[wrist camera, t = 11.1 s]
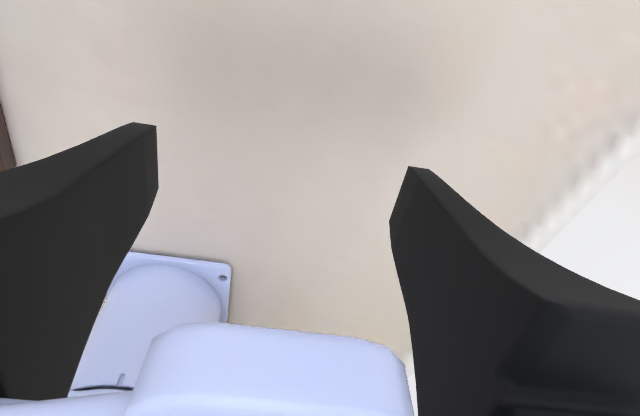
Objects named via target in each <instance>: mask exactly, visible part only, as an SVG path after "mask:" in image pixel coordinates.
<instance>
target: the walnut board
mask: <svg viewBox="0 0 640 416" xmlns="http://www.w3.org/2000/svg"><path fill="white" fill-rule="evenodd" d="M15 167H16V164H15V160H14V156H13V152H12V149H11V145H10V141H9V137H8V133H7V129H6V125H5V121H4V117H3V113H2V109H1V106H0V172H1V171H5V170H8V169H12V168H15Z"/></svg>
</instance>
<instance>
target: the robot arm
mask: <svg viewBox="0 0 640 416" xmlns="http://www.w3.org/2000/svg"><path fill="white" fill-rule="evenodd" d="M157 191H158V160H157V133H156V126H154V125H148V124H141V123H135V122H132V123H129V124H126V125H124V126H121V127H119V128H116V129H114V130H112V131H110V132H107V133H105V134H103V135H101V136H98V137H96V138H94V139H91V140H89V141H87V142H85V143H82V144H80V145H78V146H75V147H73V148H70V149H67V150H65V151H62V152H60V153H57V154H54V155H52V156H49V157H47V158H44V159H41V160H38V161H35V162H32V163H29V164H26V165H22V166H19V167H15V168H12V169H8V170H5V171H1V172H0V416H414V411H413V406H412V401H411V396H410V391H409V386H408V381H407V376H406V371H405V365H404V363H403V362H402V361H401V360H400V359H399V358H398V357H397V356H396V355H395V354H394V353H393V352H392V351H391V350H390V349H389V348H388V347H386V346H384V345H381V344H377V343H374V342H371V341H367V340H364V339H361V338H357V337H349V336H340V335H331V334H322V333H312V332H303V331H294V330H285V329H276V328H266V327H257V326H248V325H239V324H229V323H227V316H228V306H229V295H230V284H231V273H232V268H231V267H230V265H228V264H225V263H218V262H210V261H202V260H194V259H186V258H178V257H170V256H162V255H154V254H146V253H138V252H130V251H129V250H130V248H131V246H132V245H133V243H134V241H135V239H136V237H137V236H138V234H139V232H140V230H141V228H142V227H143V225H144V223H145V221H146V219H147V217H148V215H149V213H150V210H151V208H152V205H153V202H154V199H155V197H156V194H157ZM389 225H390V238H391V248H392V253H393V257H394V261H395V266H396V270H397V274H398V278H399V282H400V286H401V290H402V294H403V298H404V302H405V306H406V310H407V315H408V320H409V326H410V334H411V342H412V350H413V359H414V369H415V378H416V391H417V404H418V416H640V300H637V299H635V298H632V297H629V296H627V295H624V294H622V293H619V292H617V291H614V290H611V289H609V288H606V287H604V286H602V285H600V284H597V283H596V282H593V281H591V280H589V279H587V278H585V277H582V276H580V275H578V274H576V273H574V272H572V271H570V270H568V269H566V268H564V267H562V266H560V265H558V264H557V263H555V262H553V261H551V260H549V259H548V258H546V257H544V256H542V255H540V254H539V253H537V252H535V251H534V250H532V249H530V248H529V247H527V246H526V245H524V244H523V243H521V242H519V241H518V240H516V239H515V238H513V237H512V236H510V235H509V234H507V233H506V232H505V231H503V230H502V229H500V228H499V227H498V226H496V225H495V224H494V223H493V222H491V221H490V220H489V219H487V218H486V217H485V216H484V215H482V214H481V213H480V212H479V211H477V210H476V209H475V208H474V207H473V206H472V205H470V204H469V203H468V202H467V201H466V200H465V199H463V198H462V197H461V196H460V195H459V194H458V193H457V192H455V191H454V190H453V189H452V188H451V187H450V186H449V185H448V184H446V183H445V182H444V181H443V180H442V179H441V178H439V177H438V176H437V175H436V174H435V173H433V172H432V171H430V170H429V169H424V168H417V167H411V166H408V169H407V172H406V175H405V178H404V180H403V183H402V186H401V189H400V192H399V195H398V197H397V200H396V203H395V206H394V209H393V212H392V214H391V217H390V220H389ZM221 275H223V276H225V277H222V276H221ZM105 296H106V301H105V303H104V305H103V307H102V309H101V311H100V313H99V310H100V308H101V306H102V303H103V301H104V298H105ZM98 313H99V314H98ZM97 315H98V316H97Z"/></svg>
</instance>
